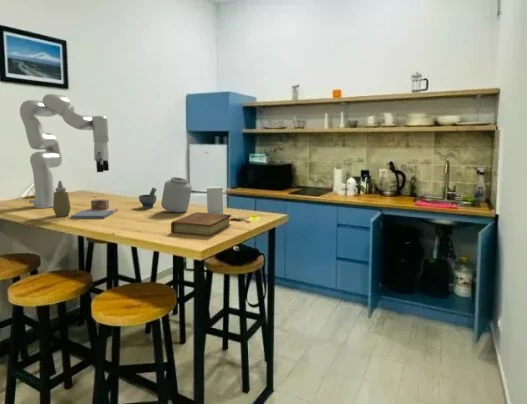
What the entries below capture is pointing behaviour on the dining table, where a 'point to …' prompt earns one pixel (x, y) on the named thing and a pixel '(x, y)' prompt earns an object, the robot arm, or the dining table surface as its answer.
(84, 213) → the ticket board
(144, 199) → the mortar and pestle
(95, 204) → the stub
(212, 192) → the skincare box
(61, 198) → the squeeze bottle
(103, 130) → the robot arm
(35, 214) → the dining table surface
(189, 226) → the diary
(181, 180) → the jar
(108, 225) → the dining table surface
